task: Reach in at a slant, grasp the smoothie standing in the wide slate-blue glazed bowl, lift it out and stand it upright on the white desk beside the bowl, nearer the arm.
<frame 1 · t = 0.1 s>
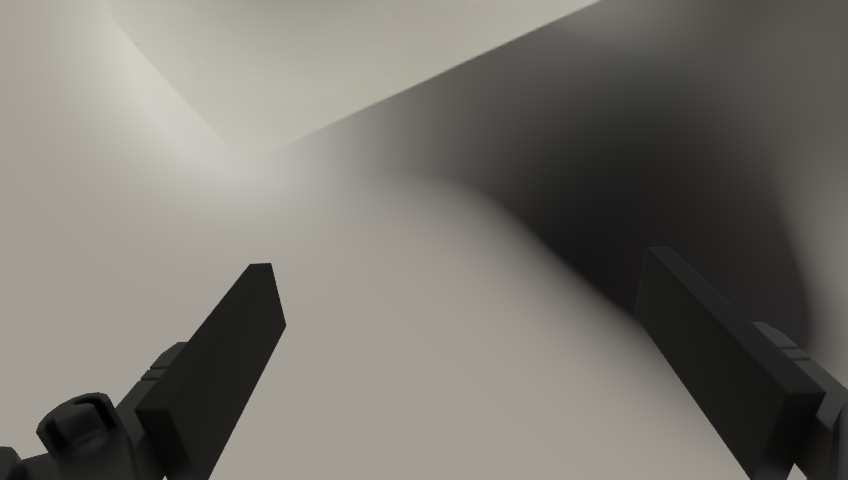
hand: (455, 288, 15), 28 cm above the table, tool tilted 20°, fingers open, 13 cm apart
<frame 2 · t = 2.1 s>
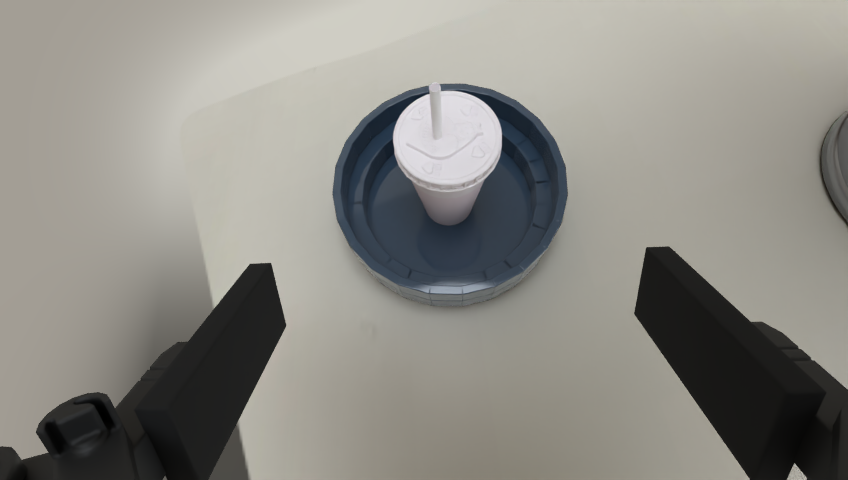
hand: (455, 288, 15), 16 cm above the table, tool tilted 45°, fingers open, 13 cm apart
smoothie: (448, 204, 34), resting on bowl
bowl: (448, 205, 34), on the table
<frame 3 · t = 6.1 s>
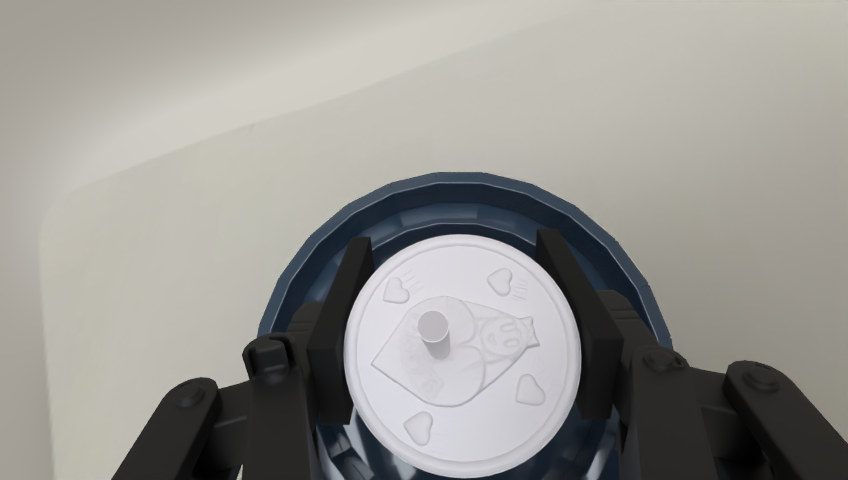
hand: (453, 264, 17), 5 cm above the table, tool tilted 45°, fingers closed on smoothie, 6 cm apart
smoothie: (457, 365, 21), resting on bowl, touching gripper
bowl: (456, 365, 21), on the table
when the fingers open (5 cm above the table, at t = 14.8 s): smoothie stays where it is, on the table.
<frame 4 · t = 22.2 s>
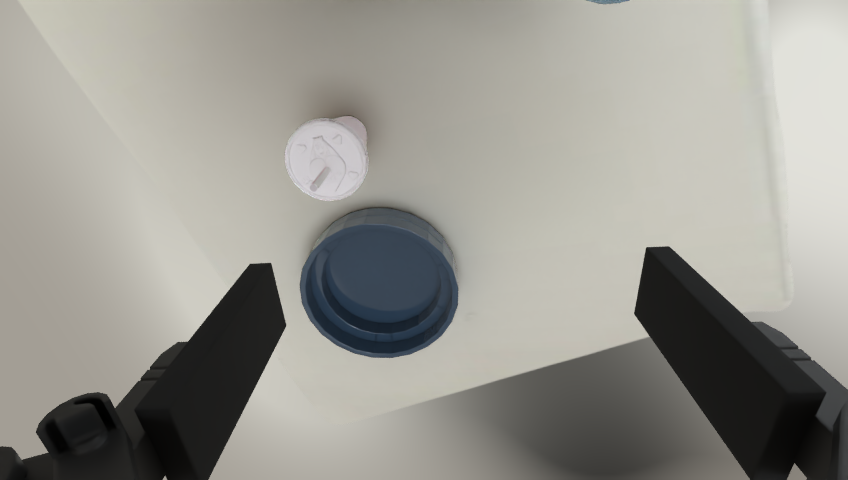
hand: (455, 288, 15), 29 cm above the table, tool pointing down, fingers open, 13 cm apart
smoothie: (348, 135, 42), on the table
bowl: (383, 274, 49), on the table
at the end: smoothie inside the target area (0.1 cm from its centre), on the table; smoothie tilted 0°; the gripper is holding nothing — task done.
